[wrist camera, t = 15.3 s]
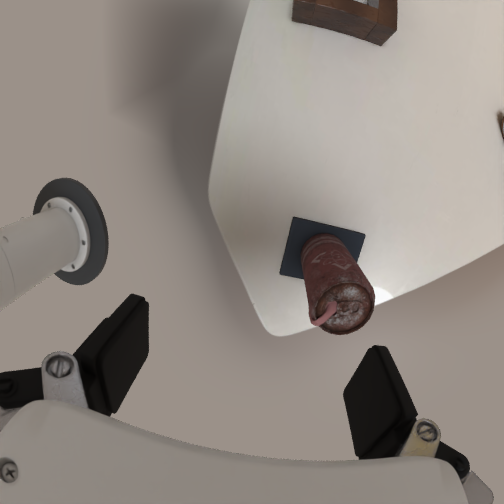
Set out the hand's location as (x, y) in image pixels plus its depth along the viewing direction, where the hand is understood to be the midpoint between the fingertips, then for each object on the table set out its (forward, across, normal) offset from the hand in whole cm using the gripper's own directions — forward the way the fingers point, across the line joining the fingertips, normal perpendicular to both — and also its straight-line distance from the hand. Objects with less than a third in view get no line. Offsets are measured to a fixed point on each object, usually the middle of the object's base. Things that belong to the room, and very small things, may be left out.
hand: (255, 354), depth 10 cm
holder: (+26, -4, -34) cm, 42 cm away
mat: (+26, -8, +3) cm, 27 cm away
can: (+25, -8, +3) cm, 27 cm away
